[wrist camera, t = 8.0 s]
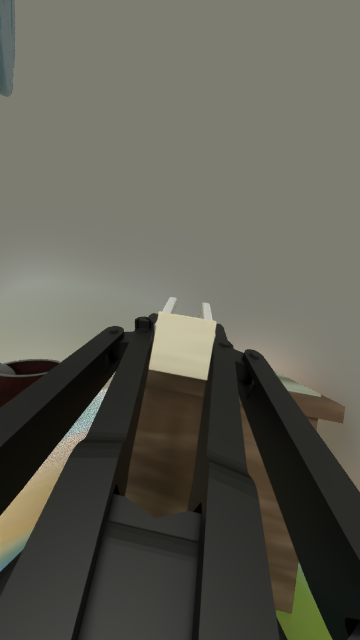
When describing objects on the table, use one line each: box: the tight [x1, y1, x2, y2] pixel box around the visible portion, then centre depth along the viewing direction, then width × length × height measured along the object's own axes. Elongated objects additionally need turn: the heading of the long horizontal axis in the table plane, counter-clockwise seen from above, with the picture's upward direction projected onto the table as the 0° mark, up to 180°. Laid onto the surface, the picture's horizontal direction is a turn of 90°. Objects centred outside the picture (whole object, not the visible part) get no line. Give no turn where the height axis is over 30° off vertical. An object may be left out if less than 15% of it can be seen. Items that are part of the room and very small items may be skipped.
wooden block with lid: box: [125, 369, 345, 613], centre depth 25 cm, size 15×28×28 cm, turn 88°
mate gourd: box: [0, 359, 61, 408], centre depth 36 cm, size 16×14×20 cm
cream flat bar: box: [149, 311, 216, 380], centre depth 20 cm, size 25×10×3 cm, turn 178°
